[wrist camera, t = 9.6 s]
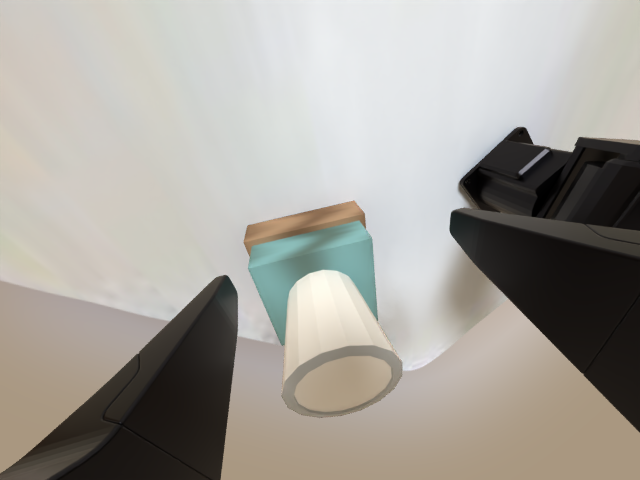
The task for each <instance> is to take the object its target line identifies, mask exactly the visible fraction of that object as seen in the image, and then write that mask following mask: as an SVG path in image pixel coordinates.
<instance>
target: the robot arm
mask: <svg viewBox="0 0 640 480" xmlns="http://www.w3.org/2000/svg"><path fill="white" fill-rule="evenodd" d="M519 132H520V133H519ZM518 134H519V135H518ZM575 146H576V147H575V149H574V150H573V152H568V151H562V150H556V149H551V148H550V147H546V146H539V145H534V144H533V142H532V140H531V138H530V136H529V134H528V131H527V129H526V128H525V127H517V128H516V129H514V130H513V131H512V132H511V133H510V134H509V135H508V136H507V137H506V138H505V139H504V140H503V141H501V142H500V143H499V144H498V145H497V146H496V147H495V148H494V149H493V150H492V151H491V152H490V153H489V154H488V155H486V156H485V157H484V158H483V159H482V160H481V161H480V162H479V163H478V164H477V165H476V166H475V167H474V168H472V169H471V170H470V171H469V172H468V173H467V174H466V175H465V176H464V177H463V178H462V179H461V181H460V184H461V186H462V187H463V188H464V190H465V191H466V192H467V194H468V195H469V196H470V198H471V199H472V200H473V202H474V203H475V204H476V206H477V207H478V208H479V210H476V209H469V208H460V209H457V210H453V211H452V212H451V217H450V233H451V235H452V236H453V238H454V239H455V240H456V241H457V243H458V244H459V245H460V246H461V248H462V249H463V250H464V252H465V253H466V254H467V255H468V257H469V258H470V259H471V260H472V261H473V263H474V264H475V265H476V266H477V267H478V268H479V269H480V270H481V271H482V272H483V273H484V274H485V275H486V276H487V277H488V278H489V279H490V280H491V281H492V282H493V283H494V284H495V285H496V286H497V287H498V288H499V289H500V290H501V291H502V292H503V293H504V295H505V296H506V297H507V298H508V299H509V300H510V301H511V302H512V303H513V304H514V305H515V306H516V307H517V308H518V309H519V310H520V311H521V312H522V313H523V314H524V315H525V316H526V317H527V318H528V319H529V320H530V321H531V322H532V323H533V324H534V325H535V326H536V327H537V328H538V329H539V330H540V331H541V332H542V333H543V334H544V335H545V336H546V337H547V338H548V339H549V340H550V341H551V342H552V343H553V344H554V345H555V346H556V347H557V349H558V350H559V351H560V352H562V354H563V355H564V356H565V357H566V358H567V359H568V360H569V361H570V362H571V363H572V364H573V365H574V366H575V367H576V368H577V369H578V370H579V371H580V372H581V373H583V374H584V376H585V377H586V378H587V379H588V380H589V381H590V382H591V383H592V384H593V385H594V386H595V387H596V388H597V390H598V391H599V392H600V393H602V394H603V396H604V397H605V398H606V399H607V400H608V401H609V402H610V403H611V404H612V405H613V406H614V407H615V408H616V409H617V410H618V411H619V412H620V413H621V414H622V415H623V416H624V417H625V418H626V419H627V420H628V421H629V422H630V423H631V424H632V425H633V426H634V427H635V428H636V429H637V430H638V431H639V432H640V141H638V140H624V139H606V138H588V137H579V138H578V140H577V142H576V144H575ZM467 180H468V181H467ZM466 181H467V183H466ZM500 212H502V213H500ZM237 332H238V295H237V291H236V289H235V287H234V285H233V283H232V282H231V280H230V278H229V277H228V276H227V275H223V276H219V277H216V278H215V279H214V280H213V281H212V282H211V283H210V284H208V285H207V286H206V287H205V288H204V289H203V290H202V291H201V292H200V293H199V294H198V295H197V296H196V297H195V298H194V299H193V300H192V301H191V302H190V303H189V304H188V305H187V306H186V307H185V308H184V309H183V310H182V311H181V312H180V313H179V314H178V315H177V316H176V317H175V318H174V319H172V320H171V321H170V322H169V323H168V324H167V325H166V326H165V327H164V328H163V329H162V330H161V331H160V332H159V333H158V334H157V335H156V336H155V337H154V338H153V339H152V340H151V341H150V342H149V343H148V344H147V345H146V346H145V347H144V348H143V349H142V350H141V351H140V352H139V354H136V355H135V356H134V357H133V358H132V359H131V360H130V361H129V362H128V363H127V364H126V365H125V366H124V367H123V368H122V369H121V370H120V371H119V372H118V373H117V374H116V375H115V376H114V377H112V378H111V379H110V380H109V381H108V382H107V383H106V384H105V385H104V386H103V387H102V388H100V389H99V390H98V391H97V392H96V393H95V394H94V395H93V396H92V397H90V398H89V399H88V400H87V401H86V402H85V403H84V404H83V405H82V406H80V407H79V408H78V409H77V410H76V411H75V412H74V413H72V414H71V415H70V416H69V417H68V418H67V419H66V420H65V421H63V422H62V423H61V424H60V425H59V426H58V427H57V428H56V429H54V430H53V431H52V432H51V433H50V434H49V435H48V436H47V437H45V438H44V439H43V440H42V441H41V442H40V443H39V444H38V445H36V446H35V447H34V448H33V449H32V450H31V451H30V452H28V453H27V454H26V455H25V456H24V457H22V458H21V459H20V460H19V461H17V462H16V463H15V464H13V465H12V466H11V467H9V468H8V469H6V470H5V471H3V472H2V473H0V480H220V479H221V469H222V462H223V453H224V445H225V435H226V427H227V419H228V411H229V410H228V409H229V402H230V393H231V384H232V375H233V368H234V359H235V351H236V342H237Z"/></svg>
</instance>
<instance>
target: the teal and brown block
mask: <svg viewBox="0 0 640 480" xmlns="http://www.w3.org/2000/svg"><path fill="white" fill-rule="evenodd" d="M244 244H245V247H246V249H247V252H248V254H249V256H250V260H249V266H248V269H249V272H250V274H251V276H252V279H253V281H254V283H255V285H256V288H257V290H258V292H259V295H260V297H261V299H262V301H263V304H264V306H265V308H266V311H267V313H268V315H269V318H270V320H271V322H272V324H273V327H274V329H275V331H276V334H277V336H278V338H279V340H280V343H281V345H282V346H283V345H285V334H286V318H287V302H288V297H289V291H290V290H291V288H292V287H293V286H294V284H295V283H296V282H297V281H298V280H299V279H301V278H303V277H304V276H306V275H307V274H309V273H313V272H317V271H321V270H333V271H339V272H341V273H343V274H345V275H347V276H349V277H350V279H351V280H352V281H353V282H354V284H355V285H356V287H357V289H358V290H359V292H360V293H361V295H362V297H363V298H364V300H365V302H366V303H367V305H368V307H369V308H370V310H371V312H372V313H373V315H374V317H375V318H376V320H377V321H378V316H377V302H376V287H375V273H374V259H373V244H372V237H371V236H370V235H369V233H368V232H367V231H366V224H365V213H364V212H363V211H362V210H361V209H360V207H359V206H358V205H357V204H356V202H355V201H351V202H346V203H342V204H338V205H334V206H329V207H325V208H321V209H316V210H312V211H308V212H304V213H299V214H295V215H291V216H286V217H282V218H278V219H274V220H269V221H265V222H261V223H257V224H252V225H248V226H247V230H246V234H245V239H244Z"/></svg>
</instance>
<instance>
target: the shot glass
mask: <svg viewBox="0 0 640 480" xmlns="http://www.w3.org/2000/svg"><path fill="white" fill-rule="evenodd" d="M401 377H402V361H401V360H400V358H399V356H398V355H397V353H396V351H395V350H394V348H393V346H392V345H391V343H390V341H389V340H388V338H387V336H386V335H385V333H384V331H383V330H382V328H381V327H380V325H379V323H378V322H377V320H376V318H375V317H374V315H373V313H372V312H371V310H370V308H369V307H368V305H367V303H366V302H365V300H364V298H363V297H362V295H361V293H360V292H359V290H358V289H357V287H356V285H355V284H354V282H353V281H352V280H351V279H350V277H349V276H347V275H345V274H343V273H341V272H339V271H333V270H321V271H317V272H313V273H309V274H307V275H306V276H304V277H303V278H301V279H299V280H298V281H297V282H296V283H295V284H294V286H293V287H292V288H291V290H290V291H289V297H288V302H287V318H286V334H285V351H284V366H283V381H282V398H283V400H284V401H285V403H286V405H287V407H288V408H289V409H292V410H293V411H295V412H297V413H299V414H301V415H305V416H312V417H321V418H322V417H333V416H342V415H345V414H349V413H352V412H356V411H359V410H362V409H364V408H366V407H368V406H370V405H372V404H374V403H376V402H378V401H380V400H381V399H382V398H383V397H385V396H386V395H387V394H388V393H390V392H391V391H392V390H393V389H394V388H395V387H396V385H397V383H398V382H399V380H400V378H401Z"/></svg>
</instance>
